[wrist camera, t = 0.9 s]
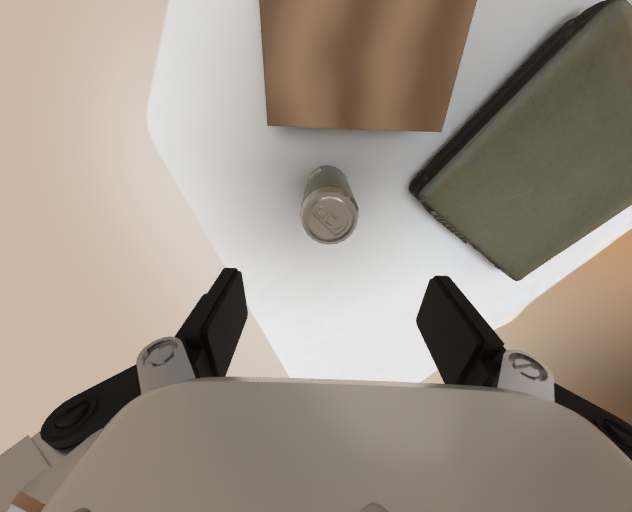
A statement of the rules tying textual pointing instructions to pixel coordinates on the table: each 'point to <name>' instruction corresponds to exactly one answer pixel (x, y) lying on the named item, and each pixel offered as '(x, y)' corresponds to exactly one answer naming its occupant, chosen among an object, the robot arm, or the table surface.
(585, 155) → the network switch
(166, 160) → the table surface
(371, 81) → the wooden block
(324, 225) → the beer can
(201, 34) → the table surface
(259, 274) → the table surface
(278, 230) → the table surface
